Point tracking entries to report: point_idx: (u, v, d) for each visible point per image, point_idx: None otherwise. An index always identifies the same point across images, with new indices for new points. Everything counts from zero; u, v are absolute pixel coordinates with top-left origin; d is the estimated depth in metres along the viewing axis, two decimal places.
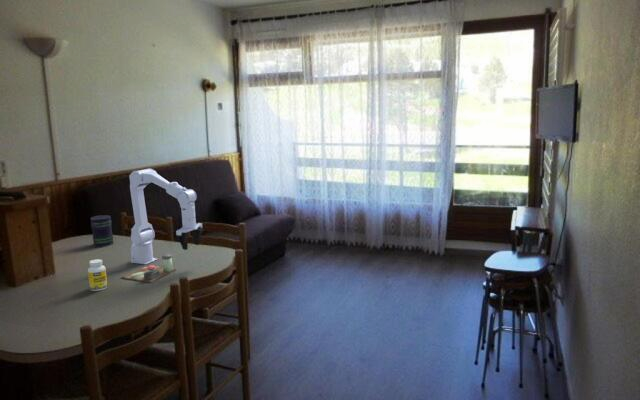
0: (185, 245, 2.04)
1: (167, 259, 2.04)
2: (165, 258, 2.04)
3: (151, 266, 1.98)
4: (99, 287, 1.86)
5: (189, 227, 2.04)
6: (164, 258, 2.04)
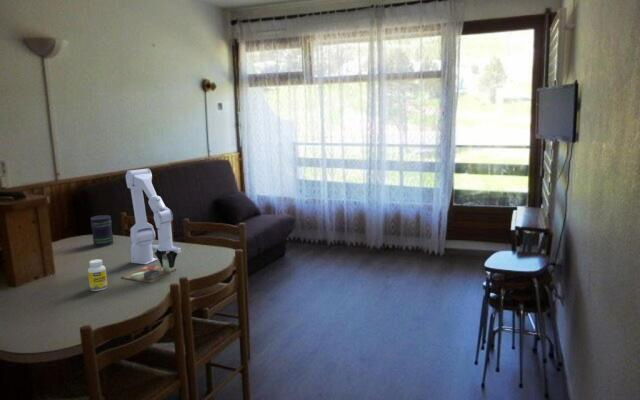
0: None
1: (167, 259, 2.04)
2: (165, 258, 2.04)
3: (151, 266, 1.98)
4: (99, 287, 1.86)
5: (159, 246, 2.04)
6: (164, 258, 2.04)
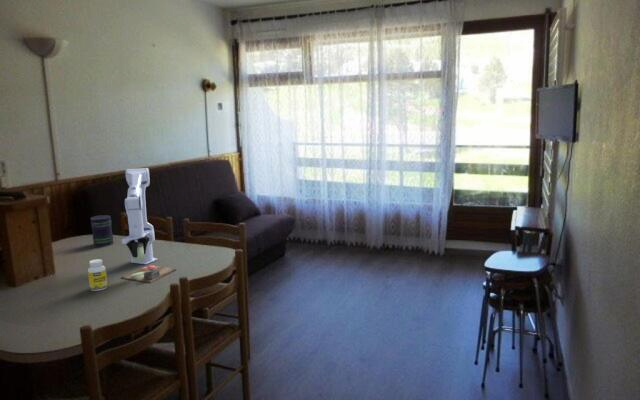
0: (135, 253, 1.97)
1: None
2: (142, 245, 1.99)
3: (151, 266, 1.98)
4: (99, 287, 1.86)
5: (136, 235, 1.96)
6: (142, 245, 1.99)
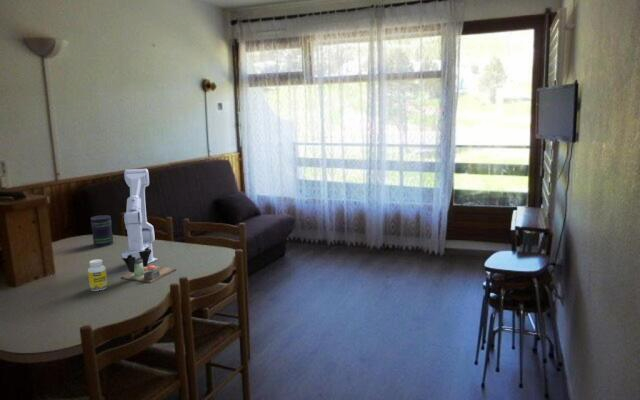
0: (132, 268, 1.96)
1: (142, 262, 2.01)
2: (142, 261, 2.00)
3: (151, 266, 1.98)
4: (99, 287, 1.86)
5: (136, 249, 1.97)
6: (141, 261, 2.00)
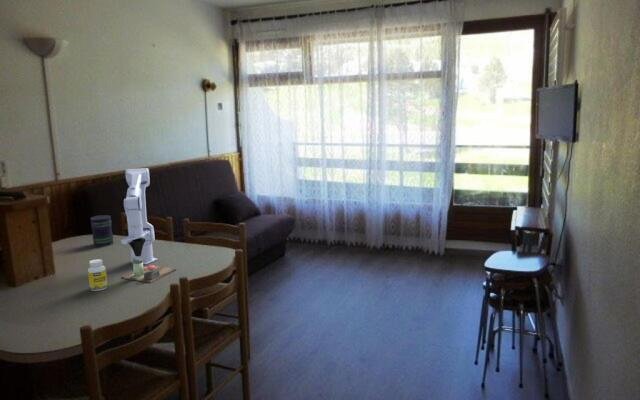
0: (138, 252, 1.98)
1: (142, 262, 2.01)
2: (142, 261, 2.00)
3: (151, 266, 1.98)
4: (99, 287, 1.86)
5: (135, 235, 1.95)
6: (141, 261, 2.00)
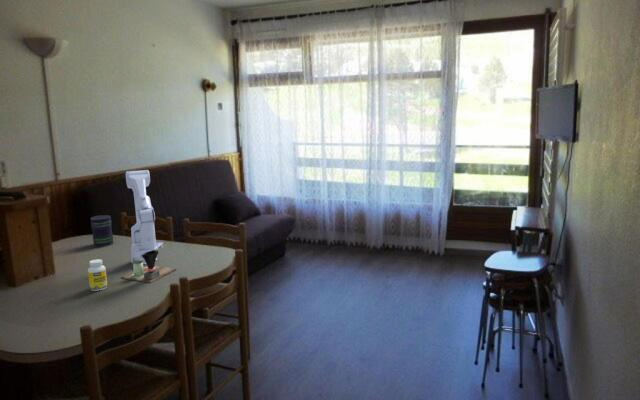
0: (151, 264, 1.97)
1: (142, 262, 2.01)
2: (142, 261, 2.00)
3: None
4: (99, 287, 1.86)
5: (149, 248, 1.94)
6: (141, 261, 2.00)
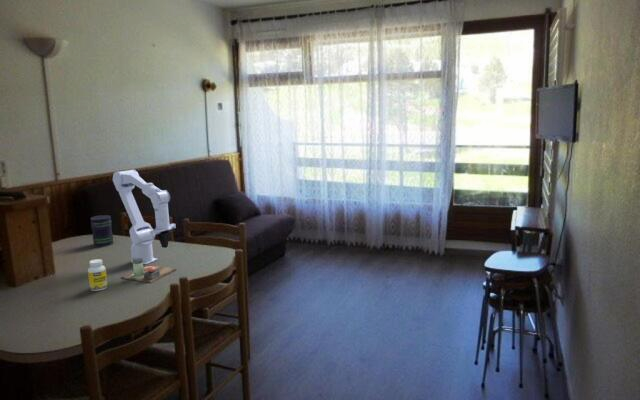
0: (164, 243, 2.10)
1: (142, 262, 2.01)
2: (142, 261, 2.00)
3: (151, 268, 1.98)
4: (99, 287, 1.86)
5: (163, 227, 2.07)
6: (141, 261, 2.00)
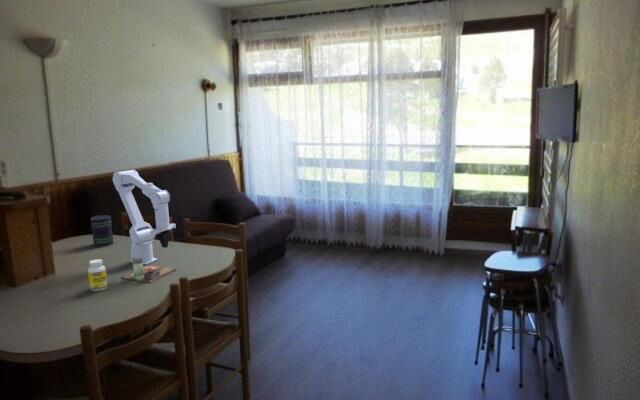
0: (164, 243, 2.10)
1: (142, 262, 2.01)
2: (142, 261, 2.00)
3: (151, 268, 1.98)
4: (99, 287, 1.86)
5: (163, 227, 2.07)
6: (141, 261, 2.00)
